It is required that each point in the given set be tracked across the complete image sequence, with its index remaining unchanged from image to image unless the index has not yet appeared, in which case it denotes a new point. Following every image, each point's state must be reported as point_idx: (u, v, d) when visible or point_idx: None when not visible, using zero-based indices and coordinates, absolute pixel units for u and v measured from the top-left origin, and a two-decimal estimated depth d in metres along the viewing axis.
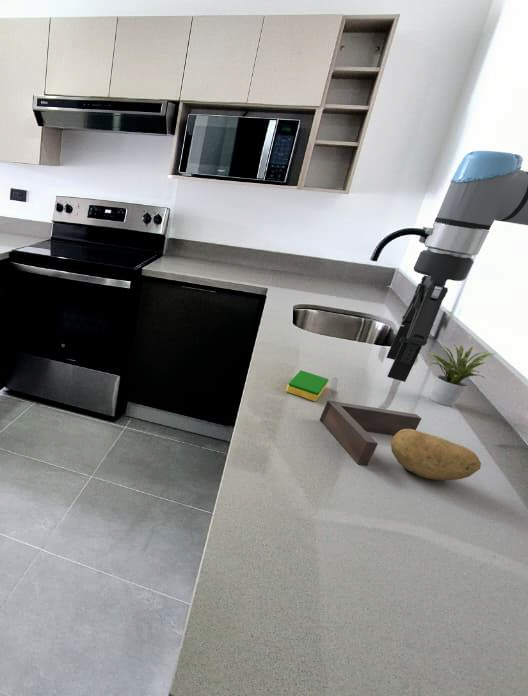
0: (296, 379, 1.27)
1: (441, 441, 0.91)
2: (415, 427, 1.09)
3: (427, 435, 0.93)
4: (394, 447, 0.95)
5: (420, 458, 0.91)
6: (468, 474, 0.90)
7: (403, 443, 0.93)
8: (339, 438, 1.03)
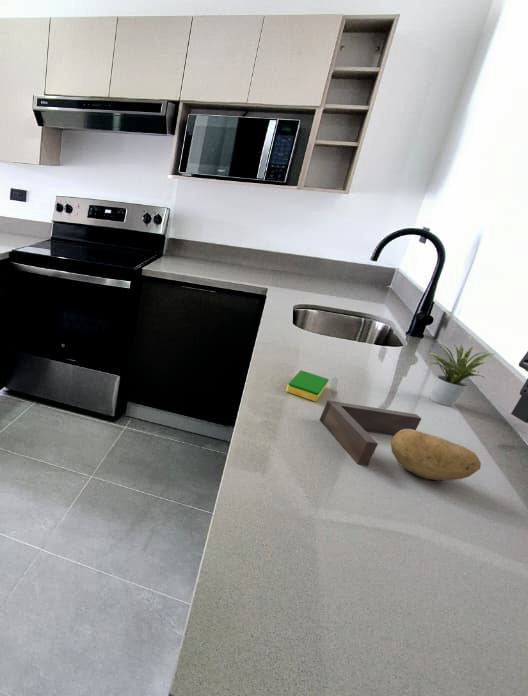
0: (296, 379, 1.27)
1: (441, 441, 0.91)
2: (415, 427, 1.09)
3: (427, 435, 0.93)
4: (394, 447, 0.95)
5: (420, 458, 0.91)
6: (468, 474, 0.90)
7: (403, 443, 0.93)
8: (339, 438, 1.03)
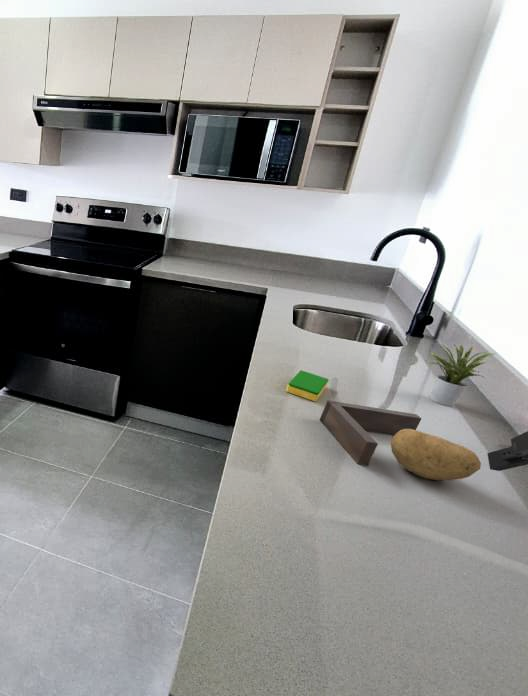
0: (296, 379, 1.27)
1: (441, 441, 0.91)
2: (415, 427, 1.09)
3: (427, 435, 0.93)
4: (394, 447, 0.95)
5: (420, 458, 0.91)
6: (468, 474, 0.90)
7: (403, 443, 0.93)
8: (339, 438, 1.03)
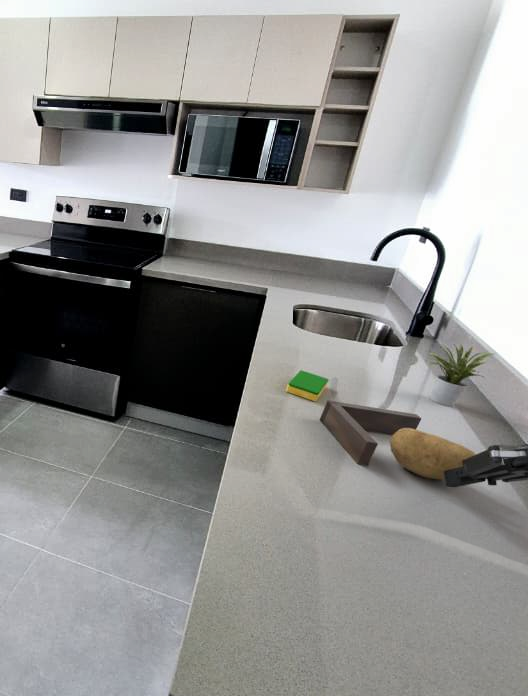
0: (296, 379, 1.27)
1: (440, 440, 0.92)
2: (415, 427, 1.09)
3: (426, 434, 0.93)
4: (393, 446, 0.95)
5: (419, 457, 0.92)
6: None
7: (402, 442, 0.94)
8: (339, 438, 1.03)
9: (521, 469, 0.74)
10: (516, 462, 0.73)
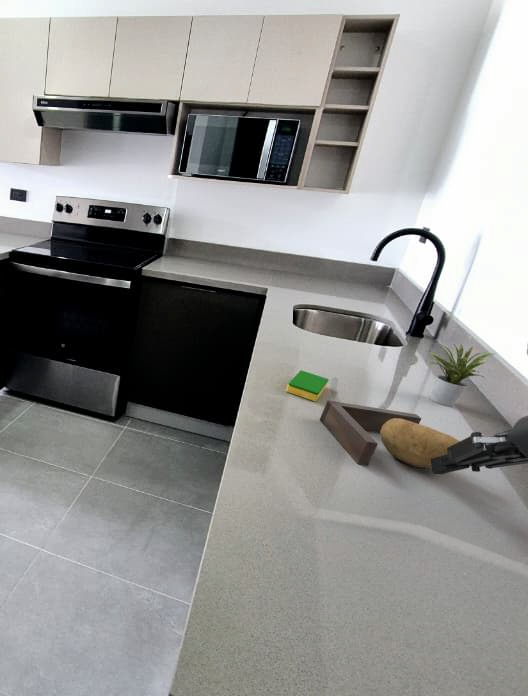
0: (296, 379, 1.27)
1: (428, 430, 0.95)
2: None
3: (415, 424, 0.97)
4: (383, 435, 0.99)
5: (407, 445, 0.95)
6: None
7: (391, 431, 0.97)
8: (339, 438, 1.03)
9: (502, 454, 0.77)
10: (496, 448, 0.77)
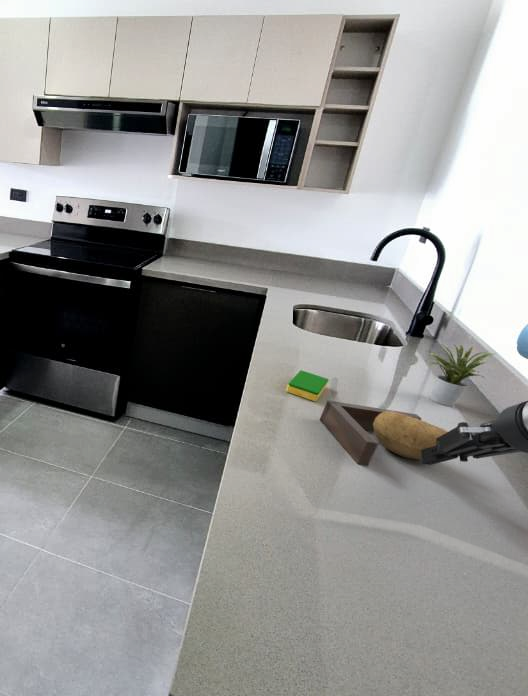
0: (296, 379, 1.27)
1: (418, 422, 0.98)
2: None
3: (406, 416, 1.00)
4: (375, 427, 1.02)
5: (398, 437, 0.98)
6: None
7: (383, 423, 1.00)
8: (339, 438, 1.03)
9: (487, 444, 0.80)
10: (482, 438, 0.80)
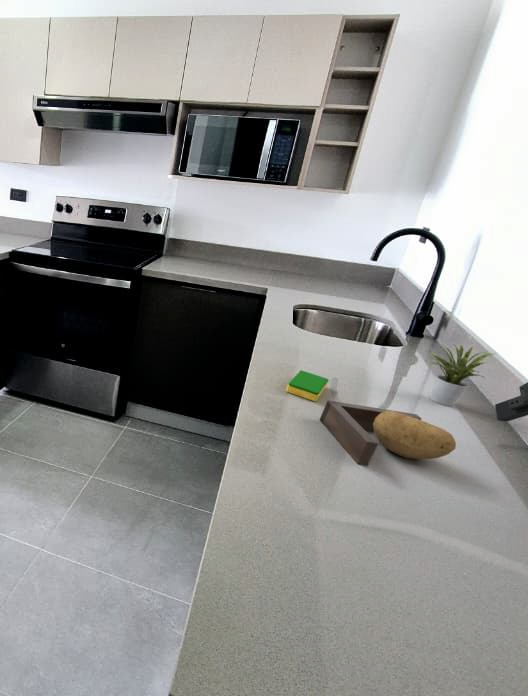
0: (296, 379, 1.27)
1: (418, 422, 0.98)
2: None
3: (406, 416, 1.00)
4: (375, 427, 1.02)
5: (398, 437, 0.98)
6: (443, 453, 0.97)
7: (383, 423, 1.00)
8: (339, 438, 1.03)
9: None
10: None
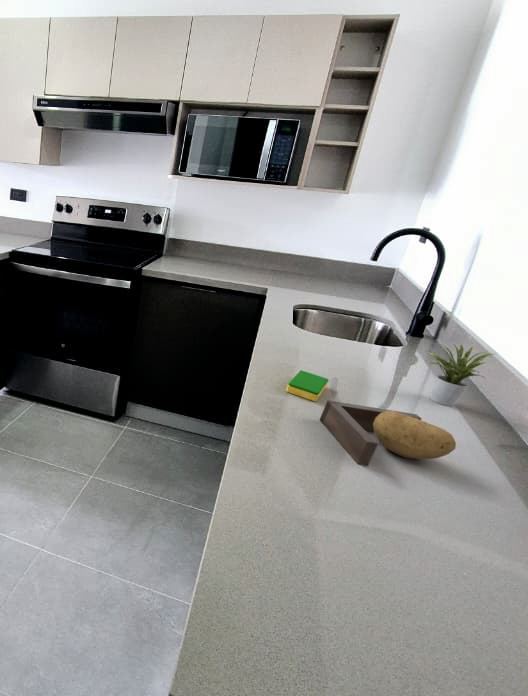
0: (296, 379, 1.27)
1: (418, 422, 0.98)
2: None
3: (406, 416, 1.00)
4: (375, 427, 1.02)
5: (398, 437, 0.98)
6: (443, 453, 0.97)
7: (383, 423, 1.00)
8: (339, 438, 1.03)
9: None
10: None
